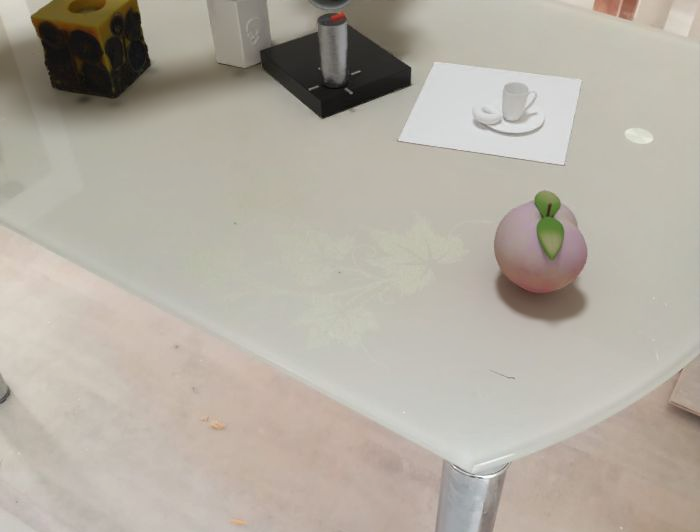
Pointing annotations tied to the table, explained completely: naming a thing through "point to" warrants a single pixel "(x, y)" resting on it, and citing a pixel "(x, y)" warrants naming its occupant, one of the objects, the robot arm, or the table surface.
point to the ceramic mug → (330, 4)
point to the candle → (92, 44)
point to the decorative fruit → (540, 245)
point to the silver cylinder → (333, 49)
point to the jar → (239, 30)
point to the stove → (364, 72)
